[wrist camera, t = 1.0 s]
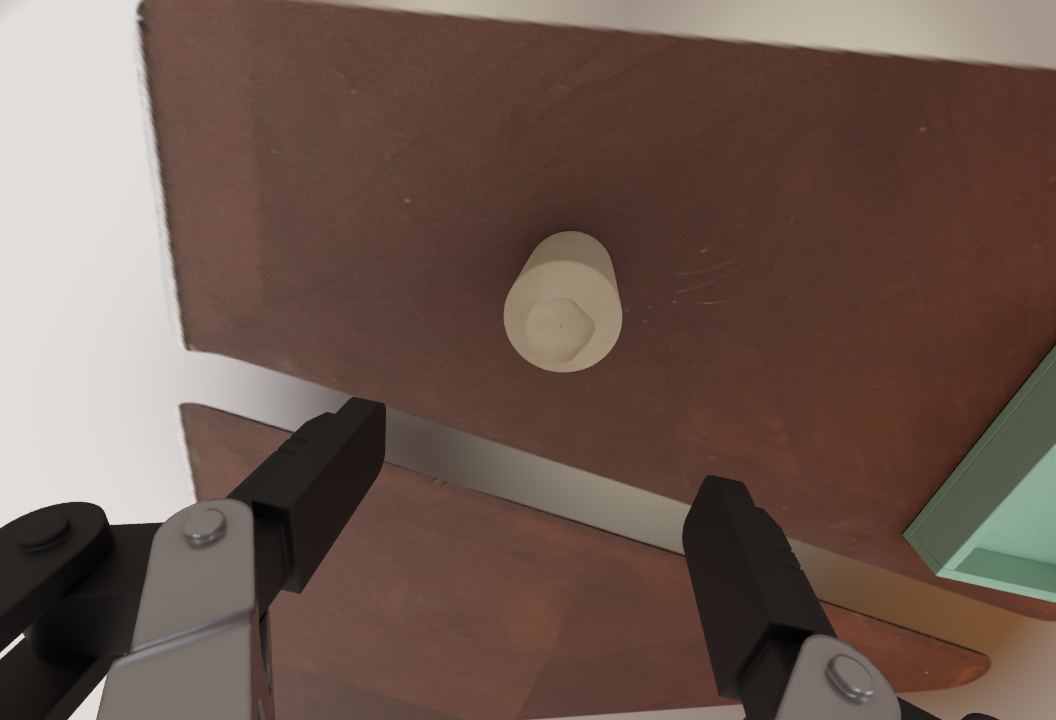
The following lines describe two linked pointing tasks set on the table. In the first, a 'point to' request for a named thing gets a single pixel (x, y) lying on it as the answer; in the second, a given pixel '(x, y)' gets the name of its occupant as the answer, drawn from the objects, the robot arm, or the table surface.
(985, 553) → the tray
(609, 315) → the candle
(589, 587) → the table surface
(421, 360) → the table surface
